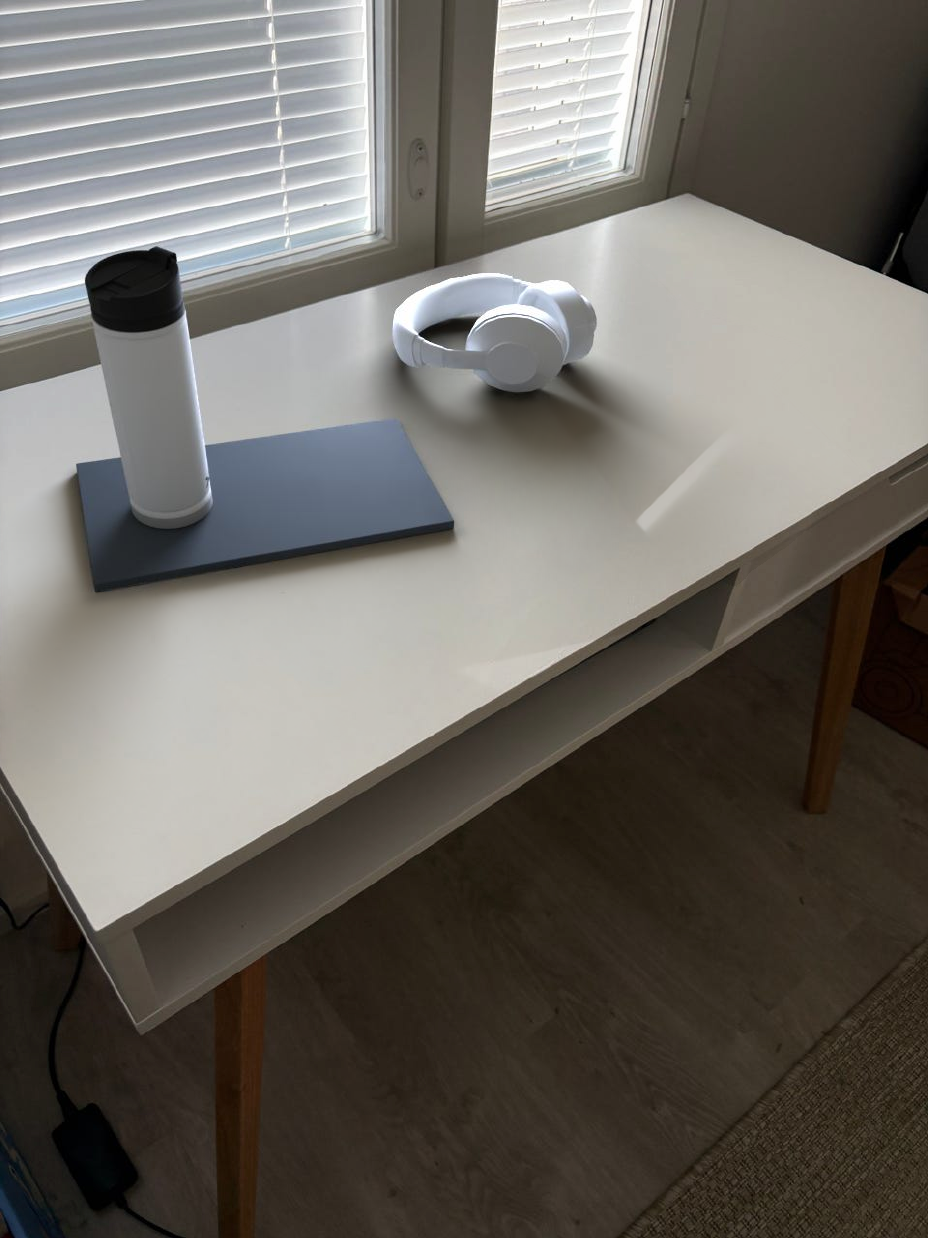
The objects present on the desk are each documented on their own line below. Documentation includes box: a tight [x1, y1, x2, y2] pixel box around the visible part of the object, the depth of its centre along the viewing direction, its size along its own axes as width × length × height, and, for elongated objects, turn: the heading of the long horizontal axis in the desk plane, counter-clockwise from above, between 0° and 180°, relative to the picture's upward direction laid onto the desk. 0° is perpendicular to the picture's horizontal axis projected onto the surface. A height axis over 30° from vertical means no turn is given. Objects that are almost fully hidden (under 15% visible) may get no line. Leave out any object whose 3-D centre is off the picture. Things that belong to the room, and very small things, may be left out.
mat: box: [75, 417, 455, 593], centre depth 83 cm, size 28×16×1 cm, turn 110°
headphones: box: [392, 272, 598, 393], centre depth 101 cm, size 18×8×20 cm
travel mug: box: [84, 245, 212, 529], centre depth 74 cm, size 6×7×20 cm
